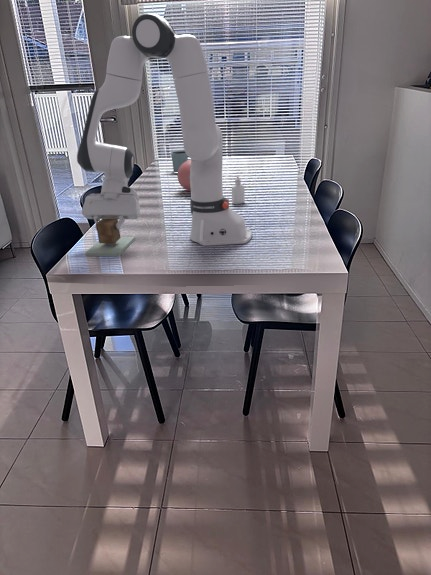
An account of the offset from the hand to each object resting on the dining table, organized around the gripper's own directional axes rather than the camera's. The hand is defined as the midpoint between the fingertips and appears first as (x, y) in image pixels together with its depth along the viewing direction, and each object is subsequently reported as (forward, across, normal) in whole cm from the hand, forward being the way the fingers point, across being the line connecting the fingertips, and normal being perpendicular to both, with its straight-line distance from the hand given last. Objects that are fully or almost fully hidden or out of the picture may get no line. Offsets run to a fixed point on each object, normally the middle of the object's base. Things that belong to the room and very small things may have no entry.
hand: (107, 229), depth 147 cm
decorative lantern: (-50, +13, +60) cm, 79 cm away
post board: (+4, 0, +5) cm, 7 cm away
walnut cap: (+3, 0, +4) cm, 4 cm away
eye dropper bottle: (-36, +38, +46) cm, 69 cm away
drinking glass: (-85, -6, +94) cm, 127 cm away
